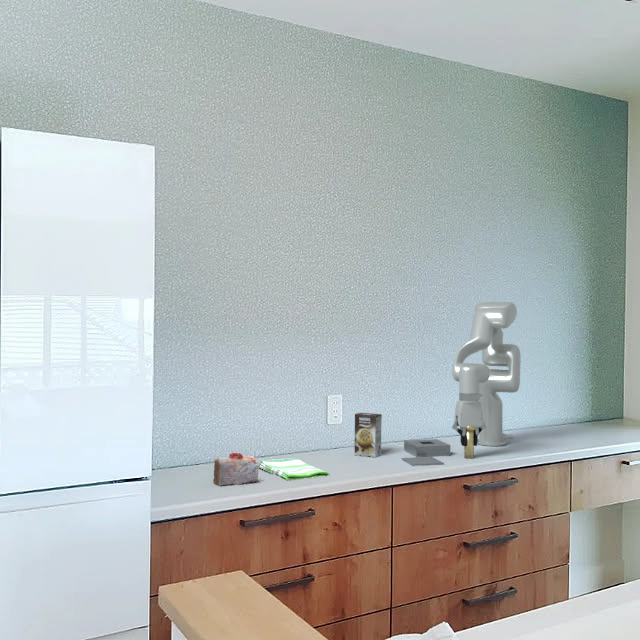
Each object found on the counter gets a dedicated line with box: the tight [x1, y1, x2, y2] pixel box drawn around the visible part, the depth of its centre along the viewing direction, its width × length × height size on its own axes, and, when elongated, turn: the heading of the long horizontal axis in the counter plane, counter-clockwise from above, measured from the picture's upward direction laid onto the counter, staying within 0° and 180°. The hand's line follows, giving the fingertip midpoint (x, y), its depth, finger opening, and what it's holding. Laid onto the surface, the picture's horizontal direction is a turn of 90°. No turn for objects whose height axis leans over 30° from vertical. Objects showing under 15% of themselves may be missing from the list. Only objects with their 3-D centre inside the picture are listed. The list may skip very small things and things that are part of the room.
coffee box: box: [354, 412, 383, 458], centre depth 277 cm, size 9×6×16 cm
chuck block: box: [403, 438, 451, 457], centre depth 282 cm, size 14×14×4 cm
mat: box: [401, 456, 445, 466], centre depth 264 cm, size 12×12×1 cm
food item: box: [213, 452, 260, 487], centre depth 231 cm, size 14×8×10 cm, turn 116°
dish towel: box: [258, 457, 330, 482], centre depth 247 cm, size 17×23×4 cm
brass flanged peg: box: [463, 426, 476, 460], centre depth 272 cm, size 5×5×12 cm
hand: (469, 445), depth 272 cm, fingers closed on brass flanged peg, 3 cm apart
